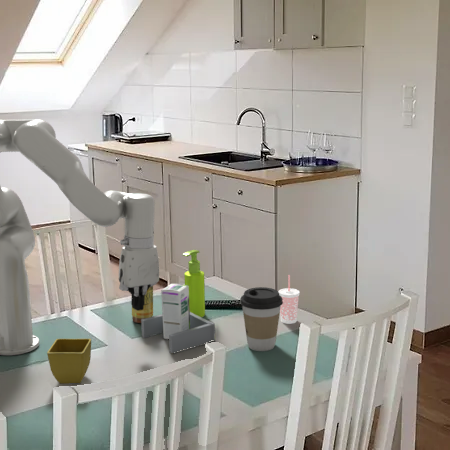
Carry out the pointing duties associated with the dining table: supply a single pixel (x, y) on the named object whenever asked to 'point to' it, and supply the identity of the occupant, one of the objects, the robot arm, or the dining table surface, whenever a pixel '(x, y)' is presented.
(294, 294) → the beverage cup
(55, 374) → the flower pot
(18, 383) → the dining table surface
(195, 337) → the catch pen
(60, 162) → the robot arm
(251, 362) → the dining table surface
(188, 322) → the syrup box
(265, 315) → the coffee cup
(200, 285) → the soap dispenser
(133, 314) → the sauce bottle
